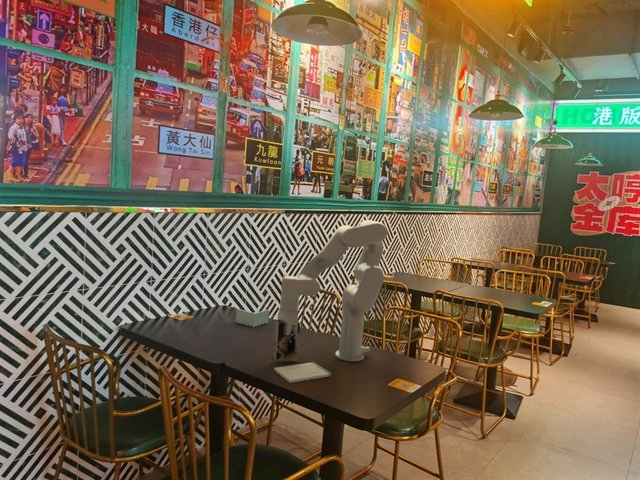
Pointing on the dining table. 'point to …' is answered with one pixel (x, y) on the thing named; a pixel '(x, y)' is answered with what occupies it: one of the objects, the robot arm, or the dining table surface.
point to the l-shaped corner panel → (252, 317)
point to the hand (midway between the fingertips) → (286, 347)
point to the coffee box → (284, 344)
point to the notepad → (302, 372)
